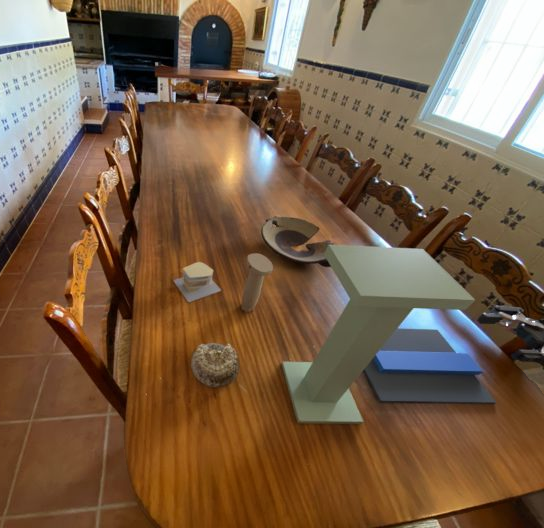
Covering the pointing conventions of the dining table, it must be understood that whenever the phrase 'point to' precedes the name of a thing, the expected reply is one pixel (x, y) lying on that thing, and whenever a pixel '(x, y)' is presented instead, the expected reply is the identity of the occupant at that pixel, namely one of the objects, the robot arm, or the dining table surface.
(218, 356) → the grey speckled round piece
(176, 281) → the stacked layers on plate
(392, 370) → the blue flat bar
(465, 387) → the mat
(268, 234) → the broken bowl
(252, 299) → the handle
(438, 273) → the stand
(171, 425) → the dining table surface
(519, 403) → the dining table surface
